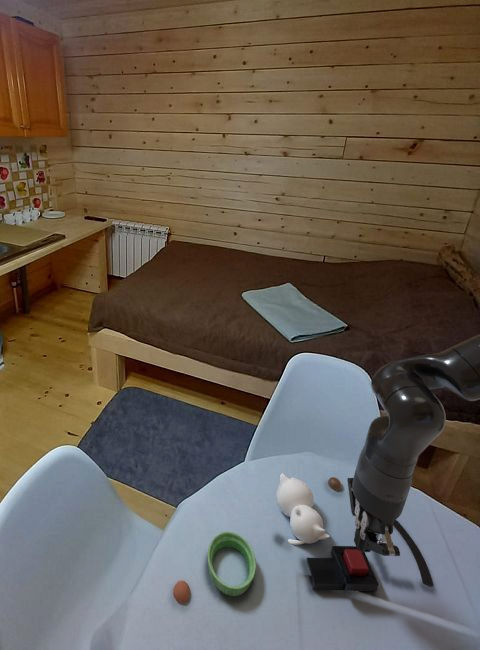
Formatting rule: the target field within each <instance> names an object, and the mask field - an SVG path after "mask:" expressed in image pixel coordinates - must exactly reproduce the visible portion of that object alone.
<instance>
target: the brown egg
mask: <svg viewBox="0 0 480 650" xmlns="http://www.w3.org/2000/svg"><path fill="white" fill-rule="evenodd" d="M172 592H173V597H174V599H175V601H176V602H177V603H179V604H185V603H187V602H188V601H189V599H190V597H191V588H190V586H189V583H187V582H186V581H185V580H178V581H177V582H176V583H175V584H174V586H173V591H172Z"/></svg>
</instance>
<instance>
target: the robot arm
mask: <svg viewBox="0 0 480 650" xmlns="http://www.w3.org/2000/svg"><path fill="white" fill-rule="evenodd" d="M370 387H371V390H372V392H373V394H374V396H375V398H376V399H377V401H378V402H379V404H380V405H381V407H382V409H383V410H384V412H385V413H386V415H381V416H377V417H376V418H374V419H373V420H371V423H370V425H369V427H368V429H367V433H366V437H365V441H364V445H363V447H362V449H361V451H360V453H359V456H358V459H357V464H356V468H355V470H354V473H353V474H354V475H353V477H347V488H348V497H349V503H350V513H351V515H352V517H355V521H354V525H355V527H356V528H355V531H354V537H353V542H354V546H356V547H357V549H358V551H361V552H365V553H371V552H374V553H377V554H378V555H381V556H384V557H400V556H401V551H400V548H399V547H398V546H397V545H395V544H394V542H393V540H392V536H391V535H393V533H394V526H393V522H394V521H395V520H397V519H399V518H400V516H401V515H402V513H403V510H404V507H405V505H406V501H407V500H408V496H409V493H410V490H411V487H412V484H413V478H414V472H415V469H416V467H417V464H418V461H419V457H420V455H422V453H423V452H424V451H425V450H427V448H428V447H429V446H430V445H431V444H432V443H433V442H435V440H436V439H437V438H438V437H439V436H440V435H441V434H442V433H443V431H444V430H445V427H446V421H447V420H446V416H447V415H446V411H445V408H444V405H443V404H442V402H441V401H440V399H438V397H437V396H436V395H435V393H433V391H432V390H440V389H441V390H442V389H445V390H447V391H450V392H452V393H453V394H455V395H457V396H458V397H459V398H462V399H463V400H465V401H469V402H474V401H478V400H480V333H478V334H476V335H473V336H472V337H469V338H468V339H465V340H463V341H461V342H459V343H456V344H454V345H453V346H450V347H448V348H446V349H444V350H442V351H439V352H433V353H428V354H422V355H417V356H412V357H408V358H401V359H398V360H394V361H393V360H392V361H391V362H388V363H386V364H383V365H382V366H381V367H379V368H378V369H377V370H376V371H375V372H374V373H373V375H372V377H371V380H370ZM380 535H381V537H380V539H379V536H380Z"/></svg>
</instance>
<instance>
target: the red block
mask: <svg viewBox="0 0 480 650" xmlns="http://www.w3.org/2000/svg"><path fill="white" fill-rule="evenodd" d="M343 558H344V560H345V563H346V566H347V568H348V571H349V573H350V575H361V576H366V575H367V572H368V566H367V564H366V562H365V560H364V557H363V555H362V553H361V551H358V550H349V549H345V551H344V554H343Z"/></svg>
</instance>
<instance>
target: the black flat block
mask: <svg viewBox="0 0 480 650" xmlns="http://www.w3.org/2000/svg"><path fill="white" fill-rule="evenodd" d="M345 549H349V550H358V549H357V547H356V545H331V550H330V555H331V557H306V560H305V561H306V563H307V566H308V567H307V568H308V570H309V573H310V574H308V578H309V582H310V585H311V588H312V590H313V591H340V592H341V591H346V592H347V591H349V592H350V591H351V592H356V591H357V592H377V591H378V588H379V586H380V583H379V581H378V579H377V577H376V574H375V572H374V570H373V568H372V565H371V563H370V561H369V559H368V556H367V554H366V552H361V553H362V555H363V557H364V560H365V562H366V564H367V566H368V572H367V575H366V576H361V575H350V573H349V571H348V568H347V566H346V563H345V560H344V558H343V554H344V551H345Z"/></svg>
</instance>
